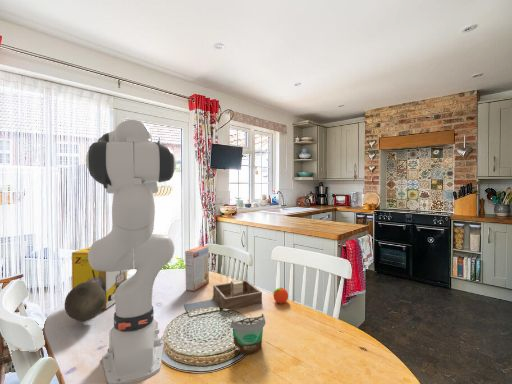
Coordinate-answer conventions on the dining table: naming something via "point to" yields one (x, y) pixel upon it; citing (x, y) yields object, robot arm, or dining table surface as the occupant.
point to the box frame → (237, 301)
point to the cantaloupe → (85, 301)
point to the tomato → (280, 295)
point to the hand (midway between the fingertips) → (132, 203)
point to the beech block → (236, 288)
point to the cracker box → (197, 268)
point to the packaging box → (95, 276)
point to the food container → (248, 334)
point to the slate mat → (201, 305)
